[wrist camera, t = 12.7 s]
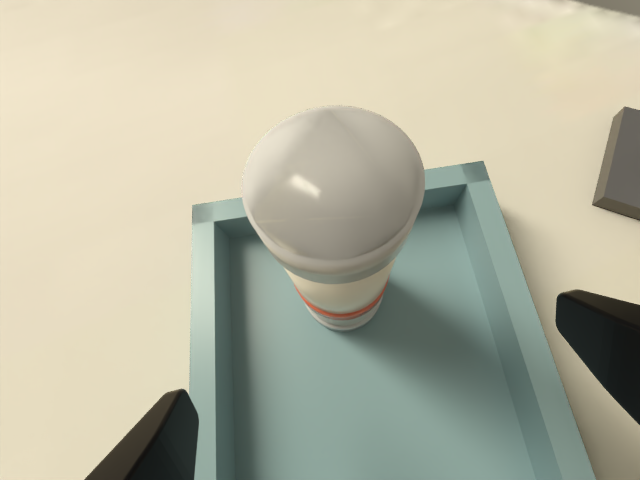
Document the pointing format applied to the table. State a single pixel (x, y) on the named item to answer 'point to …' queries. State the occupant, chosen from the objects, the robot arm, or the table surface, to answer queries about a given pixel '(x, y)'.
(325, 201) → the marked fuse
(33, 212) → the table surface
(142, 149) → the table surface
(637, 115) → the fuse holder
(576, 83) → the table surface
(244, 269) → the tray
